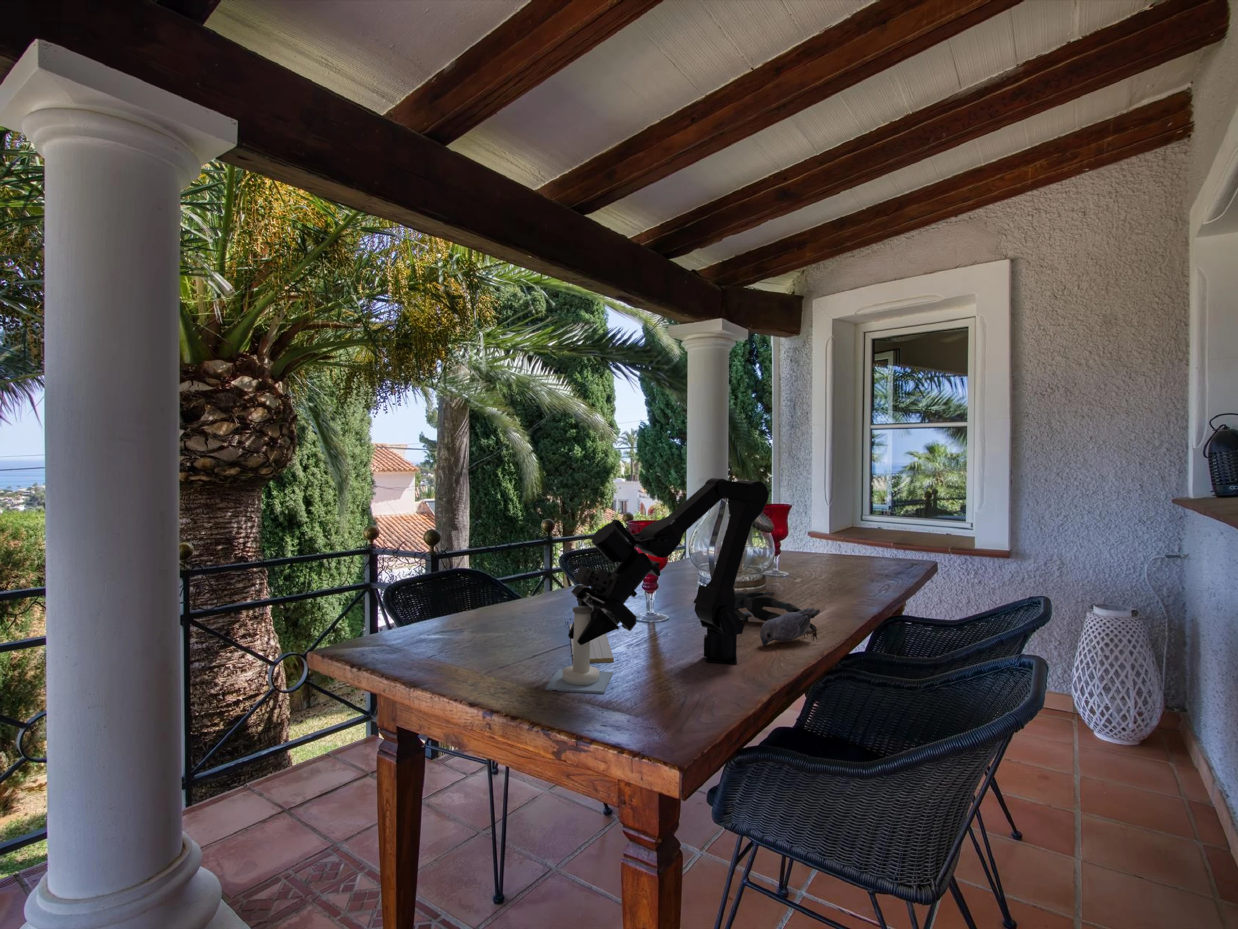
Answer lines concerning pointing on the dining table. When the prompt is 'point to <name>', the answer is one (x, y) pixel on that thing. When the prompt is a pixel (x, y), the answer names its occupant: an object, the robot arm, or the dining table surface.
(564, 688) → the felt pad
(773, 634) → the bird
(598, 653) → the baseboard
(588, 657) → the paper towel holder
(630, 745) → the dining table surface
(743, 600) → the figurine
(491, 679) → the dining table surface
